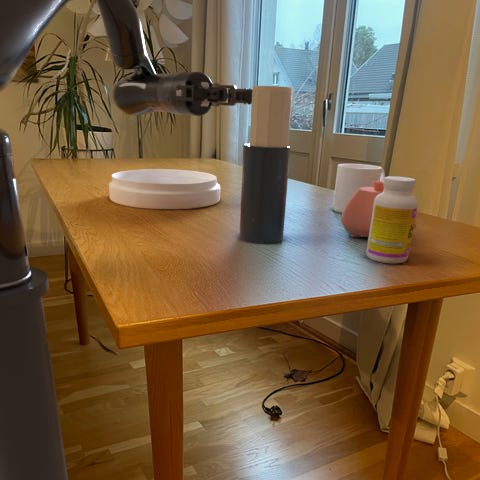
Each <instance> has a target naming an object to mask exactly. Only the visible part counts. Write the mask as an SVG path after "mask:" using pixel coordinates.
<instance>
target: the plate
mask: <svg viewBox="0 0 480 480" xmlns="http://www.w3.org/2000/svg"><path fill="white" fill-rule="evenodd" d="M108 191H109V193H108V195H109V199H110V201H111V202H113V203H115V204H118V205H121V206H125V207H131V208H138V209H148V210H191V209H200V208H205V207H211V206H213V205H216V204H218V203H219V202H220V201H221V185H220V184H219V183H218V177H217V175H214V174H212V173H208V172H205V171H204V172H203V171H198V170H197V171H196V170H190V169H189V170H187V169H173V168H142V169H141V168H140V169H139V168H138V169H129V170H128V169H127V170H122V171H117V172H114V173H112V174H111V180H110V182H109V183H108Z"/></svg>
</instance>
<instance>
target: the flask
mask: <svg viewBox="0 0 480 480" xmlns="http://www.w3.org/2000/svg"><path fill="white" fill-rule="evenodd" d="M290 156H291V146H290V145H288V147H285V148H269V147H256V146H251V145H250V143H244V144H243V145H242V167H241V193H240V214H239V239H240V240H242V241H244V242H248V243H253V244H261V245H264V244H266V245H267V244H270V245H271V244H276V243H281V242H282V241H283V240H284V230H285V219H286V218H285V217H286V206H287V194H288V193H287V192H288V183H289V170H290V168H289V167H290Z"/></svg>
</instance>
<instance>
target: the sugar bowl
mask: <svg viewBox="0 0 480 480" xmlns="http://www.w3.org/2000/svg"><path fill="white" fill-rule="evenodd" d="M383 183H384V181H373V185H374V187H361V188H359V189H358V190H357V191H356V192H355V194H354V195H353V196H352V197H351V199H350V200H349V202H348V203H347V205H346V207H345V209H344V211H343V213H341V217H340V220H341V224H342V226H343V228H344V230H346V232H347V233H349V234H350V236H351V237H353V238H362V237H364V238H369V232H370V225H371V219H372V213H373V206H374V200H375V198H376V196H377V195H378V194H380V193H383V191H384V185H383ZM417 225H418V224H417V221H416V220H415V222H414V228H413V231H414V230H415V229H416V228H417Z"/></svg>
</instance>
